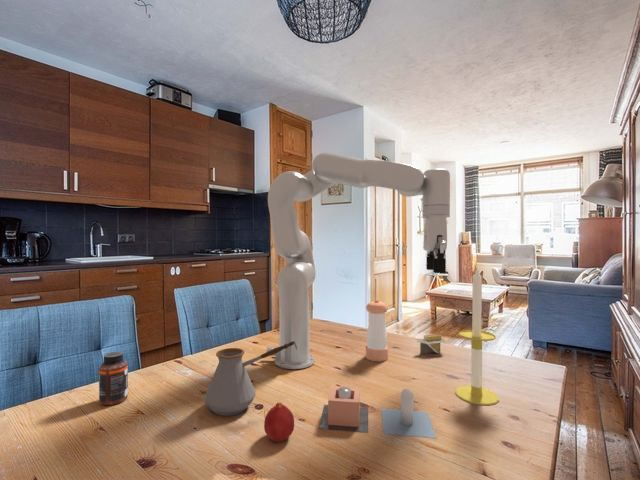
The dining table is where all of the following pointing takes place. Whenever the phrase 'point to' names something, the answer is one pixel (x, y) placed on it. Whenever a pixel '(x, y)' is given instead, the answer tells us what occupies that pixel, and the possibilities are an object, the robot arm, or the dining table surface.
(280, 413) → the onion
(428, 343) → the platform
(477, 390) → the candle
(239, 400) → the coffee pot
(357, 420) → the collar
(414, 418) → the blue peg base
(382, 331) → the salt shaker
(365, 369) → the dining table surface
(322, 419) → the stand
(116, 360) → the supplement bottle
